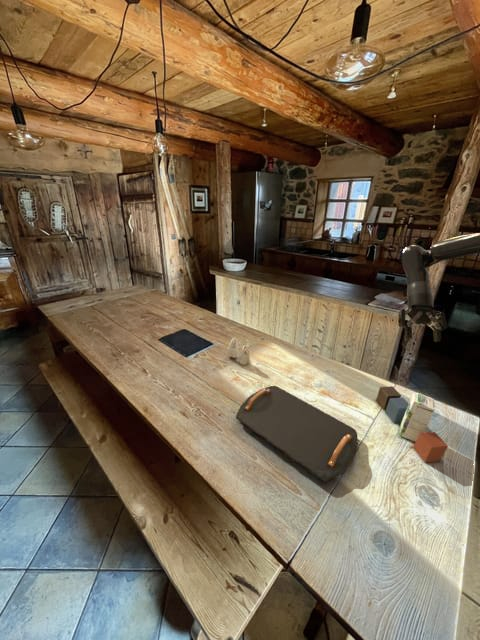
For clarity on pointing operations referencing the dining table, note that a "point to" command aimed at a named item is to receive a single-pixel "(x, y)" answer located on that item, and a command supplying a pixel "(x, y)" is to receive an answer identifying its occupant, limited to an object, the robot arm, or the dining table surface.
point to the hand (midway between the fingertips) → (423, 340)
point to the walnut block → (386, 396)
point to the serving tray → (300, 431)
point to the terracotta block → (430, 447)
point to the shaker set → (233, 352)
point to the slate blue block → (396, 409)
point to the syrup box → (417, 416)
